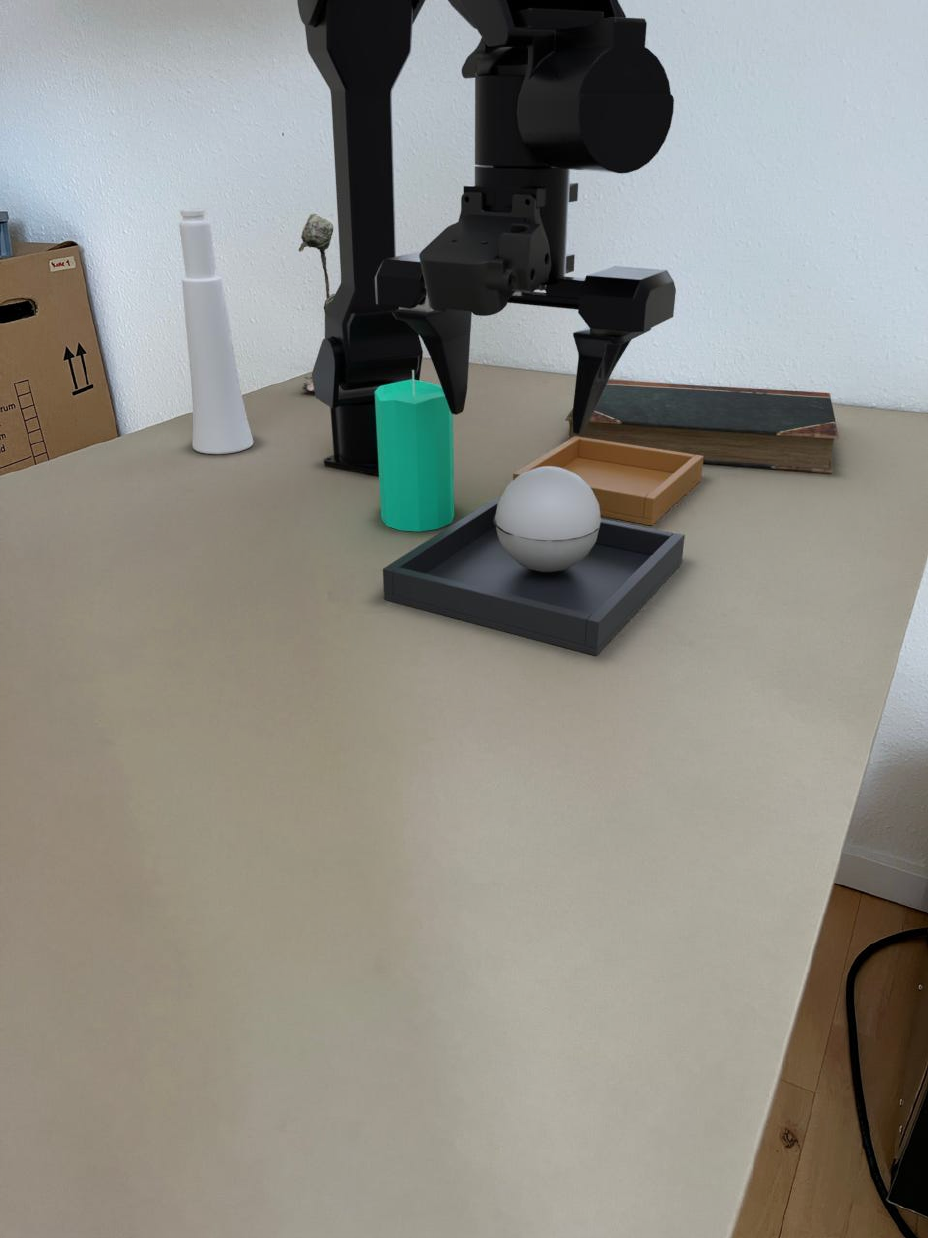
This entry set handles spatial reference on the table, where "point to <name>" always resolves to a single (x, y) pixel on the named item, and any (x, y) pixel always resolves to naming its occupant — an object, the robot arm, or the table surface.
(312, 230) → the plant with pod
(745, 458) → the book
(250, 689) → the table surface
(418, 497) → the candle
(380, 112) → the robot arm
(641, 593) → the dark tray
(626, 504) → the wood tray
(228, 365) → the cosmetic bottle
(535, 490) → the white sphere
